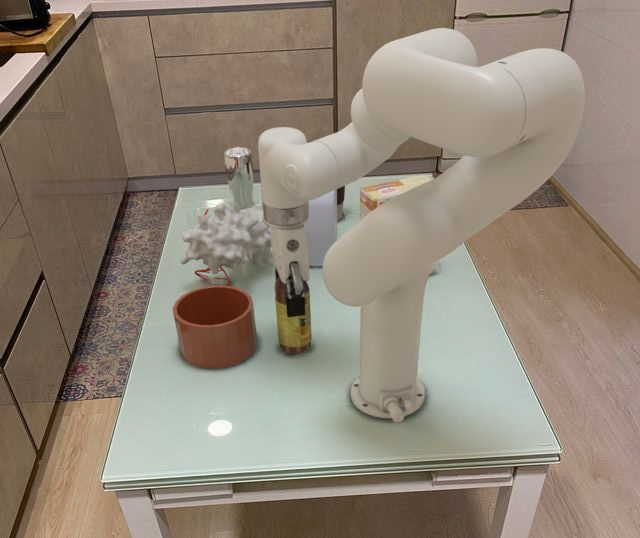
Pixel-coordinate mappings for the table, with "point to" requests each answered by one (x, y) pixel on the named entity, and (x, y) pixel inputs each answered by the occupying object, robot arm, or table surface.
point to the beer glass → (240, 177)
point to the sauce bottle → (292, 321)
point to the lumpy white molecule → (229, 239)
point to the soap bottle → (321, 227)
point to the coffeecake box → (387, 194)
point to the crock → (216, 326)
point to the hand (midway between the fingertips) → (290, 301)
